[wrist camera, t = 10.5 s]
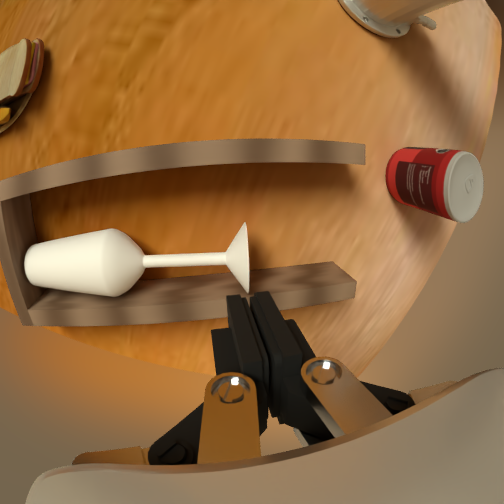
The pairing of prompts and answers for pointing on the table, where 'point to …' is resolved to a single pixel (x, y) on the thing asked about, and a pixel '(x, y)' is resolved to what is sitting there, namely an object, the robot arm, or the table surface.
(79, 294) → the walnut U-rest
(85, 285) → the champagne flute
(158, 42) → the table surface
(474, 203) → the canned food
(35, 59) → the toy sandwich meal
